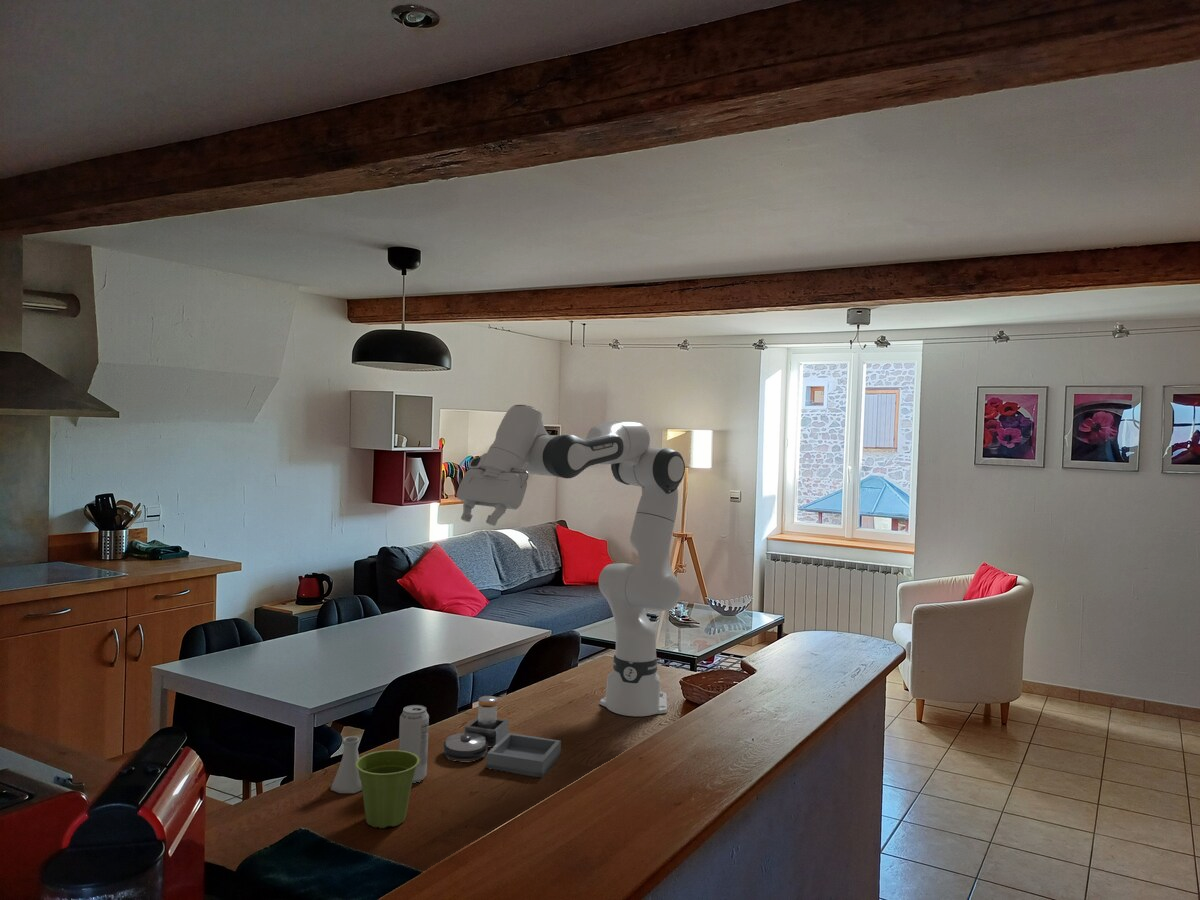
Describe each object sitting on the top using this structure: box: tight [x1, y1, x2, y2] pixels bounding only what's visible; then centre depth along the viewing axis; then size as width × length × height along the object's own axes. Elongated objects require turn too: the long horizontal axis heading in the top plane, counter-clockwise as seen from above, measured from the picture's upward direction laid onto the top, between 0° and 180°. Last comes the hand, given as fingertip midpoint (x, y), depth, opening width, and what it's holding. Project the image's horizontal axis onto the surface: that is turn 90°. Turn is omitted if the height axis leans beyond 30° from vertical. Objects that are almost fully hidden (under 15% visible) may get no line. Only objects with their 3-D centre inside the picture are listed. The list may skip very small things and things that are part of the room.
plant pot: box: [355, 749, 420, 829], centre depth 156 cm, size 12×12×11 cm
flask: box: [330, 736, 362, 794], centre depth 170 cm, size 7×7×10 cm
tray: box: [485, 732, 562, 778], centre depth 186 cm, size 13×13×4 cm
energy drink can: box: [398, 704, 430, 784], centre depth 175 cm, size 6×6×15 cm
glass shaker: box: [477, 695, 498, 730], centre depth 198 cm, size 4×4×10 cm
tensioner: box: [442, 716, 510, 761], centre depth 193 cm, size 19×10×4 cm, turn 165°
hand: (477, 522), depth 185 cm, fingers open, 8 cm apart
